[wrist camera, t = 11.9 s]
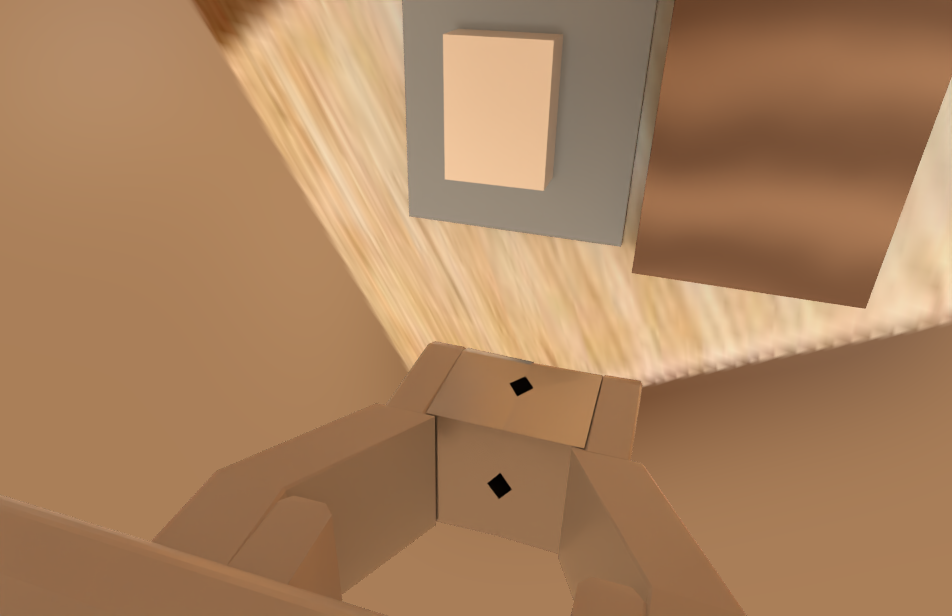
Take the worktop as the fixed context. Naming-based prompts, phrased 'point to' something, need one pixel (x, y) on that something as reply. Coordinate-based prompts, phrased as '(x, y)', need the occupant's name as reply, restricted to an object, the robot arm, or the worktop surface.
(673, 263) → the brown flat wooden block
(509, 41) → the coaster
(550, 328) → the worktop surface
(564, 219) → the mat
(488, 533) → the robot arm
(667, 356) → the worktop surface
